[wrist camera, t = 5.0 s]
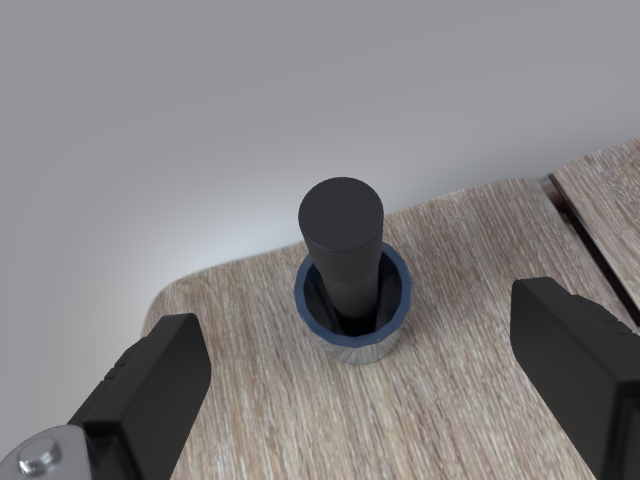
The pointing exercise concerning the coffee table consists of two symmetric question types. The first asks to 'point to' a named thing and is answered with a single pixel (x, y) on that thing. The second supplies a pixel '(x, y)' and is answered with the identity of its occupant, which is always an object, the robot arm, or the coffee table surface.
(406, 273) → the pen cup
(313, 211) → the cylinder
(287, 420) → the coffee table surface
